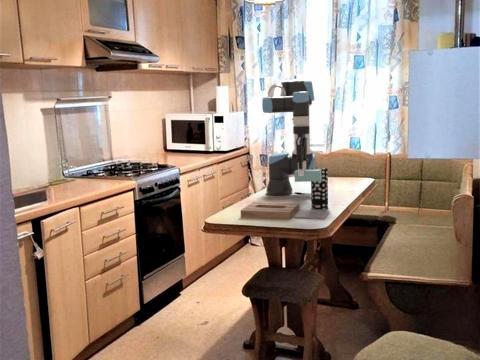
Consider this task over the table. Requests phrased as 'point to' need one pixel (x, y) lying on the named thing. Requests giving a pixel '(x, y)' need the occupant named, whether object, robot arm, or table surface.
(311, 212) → the felt pad
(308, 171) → the teal bar
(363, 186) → the table surface
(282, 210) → the pocket board
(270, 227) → the table surface
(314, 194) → the spotted tube
